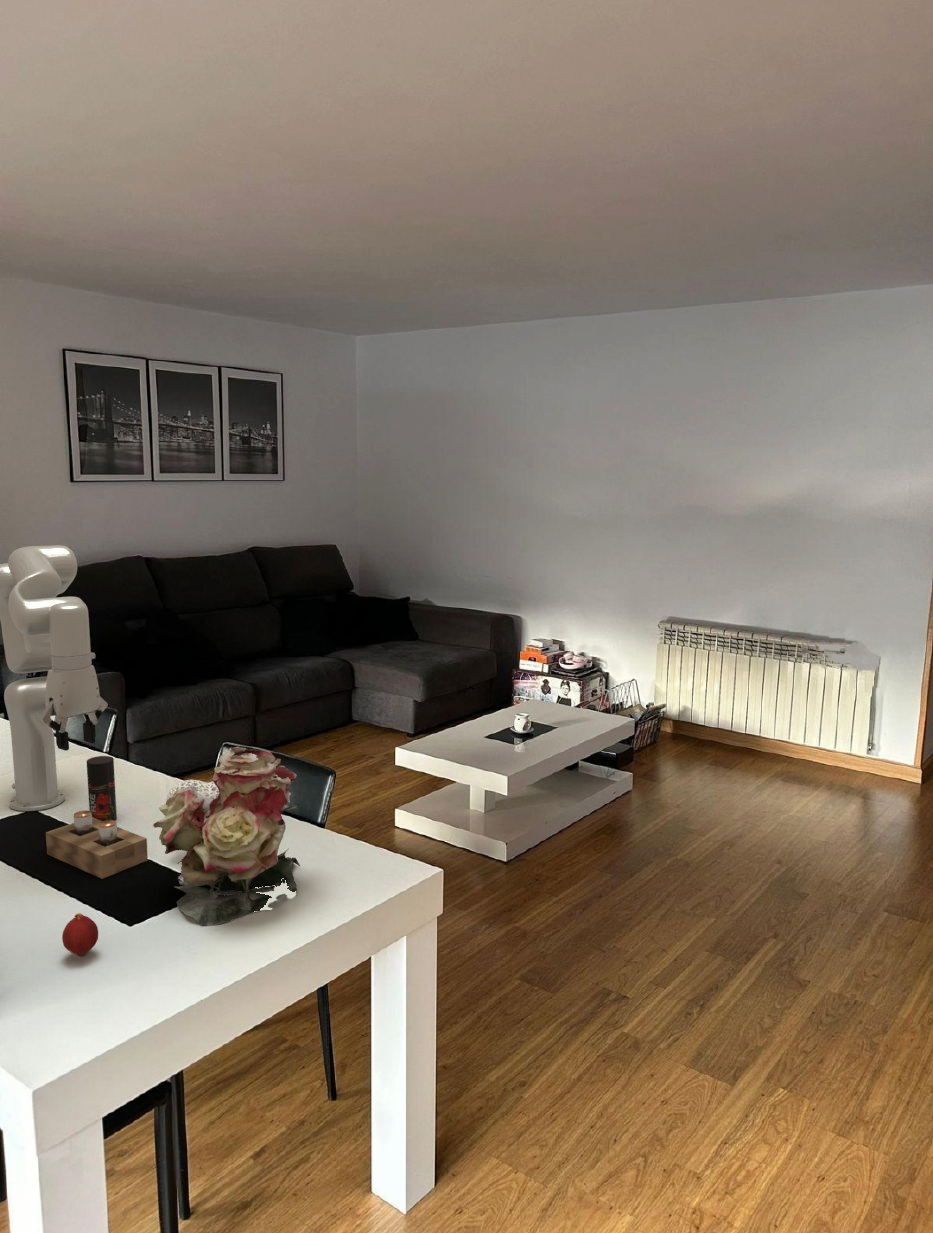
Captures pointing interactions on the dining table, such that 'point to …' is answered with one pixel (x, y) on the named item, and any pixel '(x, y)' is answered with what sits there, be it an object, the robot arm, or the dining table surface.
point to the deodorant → (101, 788)
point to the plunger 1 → (83, 822)
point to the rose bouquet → (231, 836)
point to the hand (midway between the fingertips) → (76, 744)
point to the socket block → (96, 850)
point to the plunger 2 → (107, 832)
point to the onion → (80, 935)
